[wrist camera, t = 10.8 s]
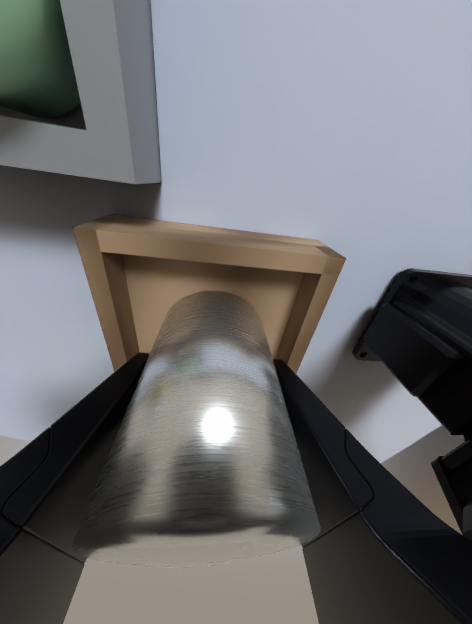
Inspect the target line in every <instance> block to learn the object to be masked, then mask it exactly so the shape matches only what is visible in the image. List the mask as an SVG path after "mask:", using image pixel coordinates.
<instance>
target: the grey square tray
mask: <svg viewBox="0 0 472 624" xmlns="http://www.w3.org/2000/svg"><path fill="white" fill-rule="evenodd" d="M60 4H61V9H62V13H63V18H64V23H65V28H66V33H67V38H68V42H69V47H70V52H71V57H72V62H73V67H74V71H75V76H76V81H77V86H78V91H79V96H80V100H81V102H80V103H79V104H78V105H77V106H76V107H75V108H74V109H73V110H71V111H69V112H68V113H66V114H64V115H60V116H56V117H47V118H44V117H35V116H31V115H27V114H23V113H20V112H17V111H14V110H11V109H8V108H5V107H2V106H0V165H4V166H11V167H18V168H25V169H32V170H39V171H46V172H53V173H60V174H67V175H74V176H81V177H88V178H95V179H102V180H109V181H116V182H123V183H130V184H146V183H160V182H161V166H160V149H159V133H158V117H157V100H156V84H155V67H154V51H153V35H152V18H151V2H150V0H60Z"/></svg>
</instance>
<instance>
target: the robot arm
mask: <svg viewBox="0 0 472 624" xmlns="http://www.w3.org/2000/svg"><path fill="white" fill-rule="evenodd" d="M409 278H410V279H409ZM408 279H409V280H408ZM353 355H354V356H355V357H356V359H358V360H371V361H382V362H383V363H384V364H385V366H386V367H387V368H388V369H389V370H390V371H391V372H392V373H393V375H394V376H395V377H396V378H397V379H398V380H399V381H400V383H401V384H402V385H403V386H404V387H405V388H406V389H407V391H408V392H409V393H410V394H411V395H413V396H416V397H417V398H418V399H419V400H420V401H421V402H422V403H423V404H424V405H425V407H426V408H427V409H428V410H429V411H430V412H431V413H432V414H433V415H434V417H435V418H436V419H437V420H438V421H439V422H440V423H441V424H442V425H443V427H444V428H445V429H446V430H447V431H448V432H449V433H450V434H451V435H460V436H461V437H462V438H463V439H464V440H465V442H464V443H462V444H461V445H459V446H458V447H456V448H455V449H454V450H452V451H451V452H449V453H448V454H446V455H445V456H439V457H437V458H436V459H434V460H433V461H432V462H431V465H432V468H433V469H434V472H435V474H436V476H437V479H438V481H439V483H440V485H441V488H442V490H443V492H444V494H445V497H446V499H447V501H448V503H449V506H450V508H451V510H452V512H453V515H454V517H455V519H456V521H457V523H458V526H459V528H460V530H461V532H462V535H461V534H460V533H458V532H457V531H455V530H454V529H453V528H451V527H450V526H448V525H447V524H446V523H444V522H443V521H442V520H440V519H439V518H438V517H437V516H436V515H434V514H433V513H432V512H431V511H430V510H429V509H428V508H427V507H426V506H425V505H423V504H422V503H421V502H420V501H419V500H418V499H417V498H416V497H415V496H414V495H413V494H412V493H411V492H410V491H409V490H408V489H407V488H405V487H404V486H403V485H402V484H401V483H400V482H399V481H398V480H397V479H396V478H395V477H394V476H393V475H392V474H391V473H390V472H389V471H387V470H386V469H385V468H384V467H383V466H382V465H381V464H380V463H379V462H378V461H377V460H376V459H375V458H374V457H373V456H372V455H371V454H370V453H369V452H368V451H367V450H366V449H365V448H364V447H363V446H362V445H361V444H360V443H359V442H358V441H357V440H356V438H355V437H354V436H353V435H352V434H351V433H350V432H349V431H348V430H347V429H345V427H344V426H343V425H342V423H341V422H340V421H339V420H338V419H337V418H336V417H335V416H334V415H333V414H332V413H331V412H330V410H329V409H328V408H327V407H326V406H325V405H324V404H323V403H322V402H321V401H320V400H319V399H318V398H317V396H316V395H315V394H314V393H313V392H312V391H311V390H310V389H309V388H308V387H307V386H306V385H305V384H304V382H303V381H302V380H301V379H300V378H299V377H298V376H297V375H296V374H295V373H294V372H293V371H292V369H291V368H290V367H289V366H288V365H287V364H286V363H285V362H284V361H283V360H282V359H273V362H274V365H275V369H276V372H277V376H278V380H279V383H280V387H281V390H282V394H283V397H284V401H285V404H286V408H287V411H288V415H289V418H290V422H291V425H292V429H293V432H294V436H295V439H296V443H297V446H298V450H299V453H300V457H301V461H302V464H303V468H304V471H305V475H306V478H307V482H308V485H309V489H310V492H311V496H312V499H313V503H314V506H315V510H316V513H317V517H318V520H319V524H320V527H321V530H320V533H319V534H318V535H317V536H316V537H315V538H313V539H312V540H310V541H308V542H306V543H304V544H302V547H303V554H304V558H305V563H306V567H307V572H308V576H309V580H310V585H311V589H312V594H313V599H314V603H315V608H316V612H317V616H318V621H319V624H472V275H465V274H456V273H447V272H439V271H430V270H421V269H407V270H404V271H403V272H402V273H400V275H399V276H398V277H397V279H396V281H395V282H394V284H393V286H392V287H391V289H390V290H389V292H388V294H387V295H386V297H385V299H384V300H383V302H382V304H381V305H380V307H379V309H378V310H377V312H376V314H375V315H374V317H373V318H372V320H371V322H370V323H369V325H368V327H367V328H366V330H365V332H364V333H363V335H362V337H361V338H360V340H359V342H358V343H357V345H356V347H355V348H354V350H353ZM148 357H149V353H143V352H139V353H137V354H136V355H134V356H133V357H132V358H131V359H130V360H128V361H127V362H126V363H125V364H124V365H122V366H121V367H120V368H119V369H118V370H117V371H115V372H114V373H113V374H112V375H111V376H109V377H108V378H107V379H106V380H105V381H103V382H102V383H101V384H100V385H99V386H97V387H96V388H95V389H94V390H93V391H91V392H90V393H89V394H88V395H87V396H86V397H84V398H83V399H82V400H81V401H80V402H78V403H77V404H76V405H75V406H74V407H72V408H71V409H70V410H69V411H68V412H66V413H65V414H64V415H63V416H62V417H61V418H59V419H58V420H57V421H56V422H55V423H53V424H52V425H51V427H50V428H47V429H46V430H45V431H44V432H43V433H41V434H40V435H39V436H38V437H37V438H35V439H34V440H33V441H32V442H30V443H29V444H28V445H27V446H26V447H24V448H23V449H22V450H21V451H20V452H18V453H17V454H16V455H15V456H13V457H12V458H11V459H9V460H8V461H7V462H5V463H4V464H3V465H1V466H0V624H63V622H64V619H65V616H66V614H67V611H68V608H69V606H70V603H71V600H72V597H73V595H74V592H75V589H76V587H77V584H78V581H79V578H80V575H81V573H82V570H83V568H84V563H85V562H86V559H87V558H86V557H83V556H81V555H79V554H77V553H76V552H75V551H73V548H72V544H73V541H74V539H75V536H76V534H77V531H78V529H79V526H80V524H81V521H82V519H83V517H84V514H85V512H86V509H87V507H88V504H89V502H90V499H91V497H92V494H93V492H94V490H95V487H96V485H97V482H98V480H99V477H100V475H101V472H102V470H103V467H104V465H105V463H106V460H107V458H108V455H109V453H110V450H111V448H112V445H113V443H114V440H115V438H116V436H117V433H118V431H119V428H120V426H121V423H122V421H123V418H124V416H125V414H126V411H127V409H128V406H129V404H130V401H131V399H132V396H133V394H134V391H135V389H136V387H137V384H138V382H139V379H140V377H141V374H142V372H143V369H144V367H145V364H146V362H147V360H148Z"/></svg>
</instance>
